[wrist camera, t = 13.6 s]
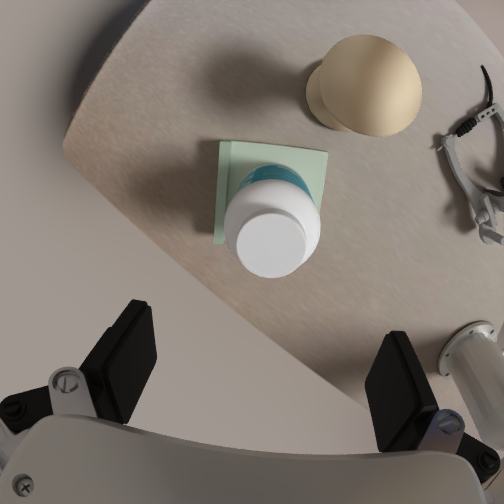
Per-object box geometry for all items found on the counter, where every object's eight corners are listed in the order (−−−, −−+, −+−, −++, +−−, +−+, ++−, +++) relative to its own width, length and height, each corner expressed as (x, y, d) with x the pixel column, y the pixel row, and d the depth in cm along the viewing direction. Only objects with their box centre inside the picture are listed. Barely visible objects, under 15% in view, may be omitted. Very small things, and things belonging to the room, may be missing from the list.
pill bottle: (243, 156, 31) (221, 181, 18) (314, 168, 31) (339, 201, 18) (234, 223, 34) (210, 286, 22) (300, 234, 34) (313, 302, 21)
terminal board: (326, 151, 31) (331, 154, 28) (311, 245, 35) (314, 255, 33) (224, 139, 31) (220, 141, 29) (218, 234, 36) (213, 243, 33)
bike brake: (531, 198, 29) (474, 69, 26) (559, 207, 22) (499, 57, 19) (471, 245, 33) (405, 108, 30) (496, 261, 27) (424, 98, 24)
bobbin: (380, 69, 26) (424, 51, 16) (373, 137, 30) (415, 147, 20) (309, 54, 27) (324, 24, 17) (301, 124, 30) (315, 125, 20)
